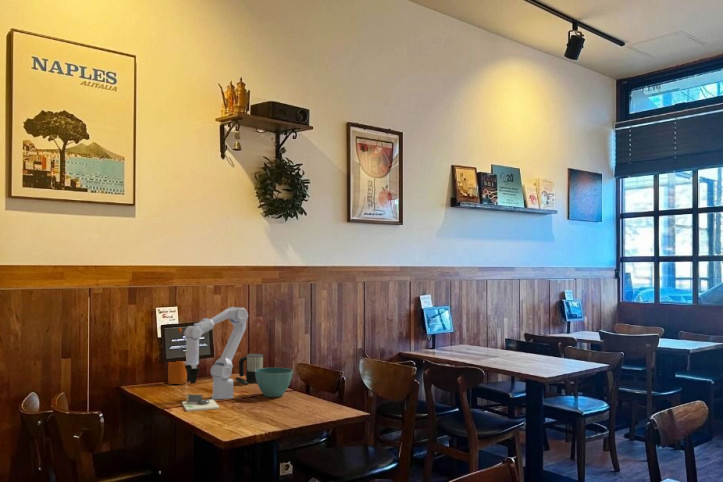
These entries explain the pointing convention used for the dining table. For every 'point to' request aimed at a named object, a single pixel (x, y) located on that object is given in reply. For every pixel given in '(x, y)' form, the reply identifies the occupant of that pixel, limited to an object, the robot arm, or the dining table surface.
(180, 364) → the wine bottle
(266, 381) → the plant pot
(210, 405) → the tuner plate
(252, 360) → the milk frother
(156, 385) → the dining table surface
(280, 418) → the dining table surface
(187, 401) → the tuner dial
